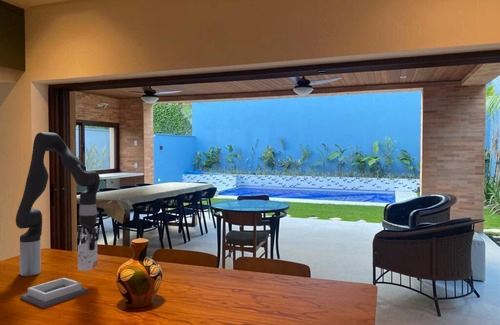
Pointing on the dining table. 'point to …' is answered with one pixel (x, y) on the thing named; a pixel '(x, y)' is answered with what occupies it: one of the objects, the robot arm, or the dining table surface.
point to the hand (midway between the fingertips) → (87, 248)
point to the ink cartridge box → (87, 256)
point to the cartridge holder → (54, 292)
